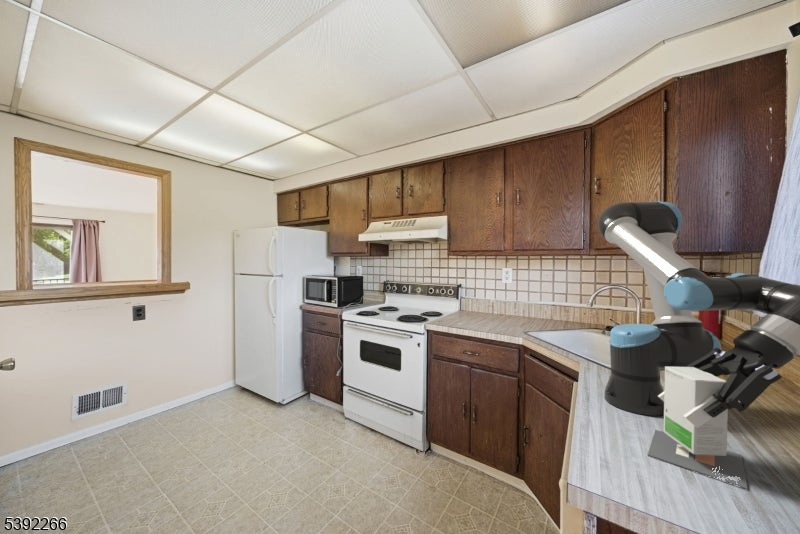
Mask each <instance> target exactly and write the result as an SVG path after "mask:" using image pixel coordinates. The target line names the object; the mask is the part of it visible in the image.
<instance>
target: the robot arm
mask: <svg viewBox="0 0 800 534" xmlns="http://www.w3.org/2000/svg"><path fill="white" fill-rule="evenodd" d="M682 223H683V215H682V212H681V211H680V209H679V208H678V206H676V205H675V204H674V203H671V202H669V201H657V200H654V201H643V202H641V201H639V202H636V201H635V202H626V201H625V202H618V203H615V204H612V205H610V206H608V207H607V208H605V209H604V210H603V211H602V212H601V213H600V215H599V217H598V220H597V230H598V232H599V234H600V235H601V237H603V239H605V241H607V242H608V243H610V244H612V245H617V246H618V248H620V249H621V250H622V251H623V252H624V253H626V254H627V255H628V256H629V257H630V258H631V259H632V260H634V261H635V262H636V263H637V264H638V265H640V267H642V269H643V273H644V277H645V281H646V285H647V289H648V294H649V297H650V302H651V305H652V311H653V314H654V318H655V319H654V320H653V321H652V323H650V324H647V323H625V324H619V325H616V326H613V328H611V330H610V332H609V333H610V335H609V345H610V346H609V349H610V351H609V352H610V353H609V354H610V355H609V356H610V376H609V377H608V380H607V383H606V385H605V387H604V390H603V391H604V399H605V401H606V402H608V404H610V405H612V406H614V407H616V408H618V409H620V410H624V411H627V412H630V413H633V414H634V413H635V414H637V415H638V414H640V415H644V416H654V417H657V416H664V391H665V389H664V387H663V386H662V383H661V370H664V371H665V367H694V368H697V369H699V370H701V371H704V372H707V373H710V374H712V375H714V376H716V377H717V376H719V377H720V376H728V377H727V379H726V380H725V381H726V383H725V384H724V385H723V387H722V389H721V390H720V392H719V393H718V394H715V395H714V394H713V396H714V397H715V398H717V400H716V399H715V398H714V397H712V396H710V397H709V398H707V399H706V400H704V401H703V402H702V403H700V404H699V405H697V406H696V407H695V408H693V409H692V410H690V411H689V412H688V413H686V414H685V415H683V416H684V417H685V418H686V419H688V420H689V421H690V422H691V423H692V424H693V425H694V426H695V427H697V428H698V427H700V426H701V425H703V424H704V423H706V422H707V421H708V420H710V419H711V418H714V417H716V416H718V415H719V414H720V413H722V412H723V411H725V410H726V409H729V410H732V409H735V410H737V411H738V412H745V411H746V409H747V408H749V407H750V406H751V405H752V403H754V401H756V400H757V398H759V396H761V395H762V394H763V393H764V392H765V390H767V388H769V387H770V385H772V384H774V383H776V382H777V381H779V380H781V379H782V375H781V374H779V372H777V371H776V370H778V369H781V368H782V367H784V366H785V365H787V364H788V363H789V362H791V361H792V360H794V357H795V356H799V355H800V284H795V283H794V284H793V283H788V282H784V281H780V280H776V279H772V278H767V277H763V276H761V275H760V276H759V275H758V274H752V273H751V274H748V273H743V272H736V273H731V274H729V275H728V276H725V277H711V276H708V275H707V274H705V273H704V272H702V271H701V270H700V269H698V268H697V267H695V266H694V265H692V264H691V263H690V262H688V261H687V260H685V259H684V258H683V257H682V256H680V255H679V254H677V253H676V251H675V248H674V244H673V241H675V239H676V238H677V236H678V235H677V233H678V232H679V231H680V230H681V228H682ZM692 311H695V312H697V311H698V312H699V311H755V312H760V313H763V314H766V315H765V316H763V317H762V318H760V319H759V320H757V321H755V323H754V324H752V325H750V326H749V328H750V329H746V330H745V331H743V332H742V333H741V334H739V335H738V336H736V337H735V338H733V340H732V342H733V345H734V347H733V348H731V349H729V350H727V351H724V350H722V345H721V342H720V339H719V338H718V337H717V336H716V335H714V333H713V332H712V331H710V330H709V329H708V330H707V329H705V328H704V325H703V322H702V321H701V320H700V319H697V317H696V318H695V317H694V315H693V312H692Z"/></svg>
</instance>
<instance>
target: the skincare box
mask: <svg viewBox="0 0 800 534" xmlns="http://www.w3.org/2000/svg"><path fill="white" fill-rule="evenodd" d="M726 381H727V380H725V379H723V378H721V377H719V378H718V377H716V376H714V375H712V374H710V373H707V372H704V371H701V370H699V369H697V368H694V367H665V370H664V415H663V432H664V433H665V434H667V435H668V436H670V437H671V438H672V439H673V440H675V441H676V442H678V443H679V444H680V445H682V446H683V447H684V448H686V449H687V450H689V451H690V452H691V453H692V454H695V455H716V456H726V452H727V451H728V450H727V447H728V445H727V444H728V443H727V442H728V416H729V415H728V413H729V412H728V409H726V410H725V411H723V412H722V413H720V414H719V415H718V416H716V417H714V418H711V419H710V420H708V421H707V422H706V423H704V424H703V425H701V426H700V427H698V428H697V427H695V426H694V425H693V424H692V423H691V422H690V421H689V420H688V419H686V418H685V417H684V416H683V415H685V414H686V413H688V412H689V411H690V410H692V409H693V408H695V407H696V406H697V405H699V404H700V403H702V402H703V401H704V400H706V399H707V398H709V397H710V396H712V397H714V396H713V394H714V395H715V394H718V393H719V392H720V390H721V389H722V387H723V385H724V384H725V383H726ZM714 398H715V397H714ZM715 399H716V400H717V398H715Z"/></svg>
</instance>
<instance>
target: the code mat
mask: <svg viewBox="0 0 800 534" xmlns="http://www.w3.org/2000/svg"><path fill="white" fill-rule="evenodd" d="M647 457H650V458H652V459H656V460H659V461H661V462H665V463H668V464H671V465H673V466H676V467H679V468H682V469H684V468H686V469H685V470H687V469H690V470H693V471H695V472H694V473H696V472H698V473H697V474H699V473H701V474H700V475H702V474H704V475H703V476H705V475H707V476H706V477H708V476H711V477H715V478H717V477H719V476H720V478H722V477H723V476H724V478H726V477H728V476H730V477H732V476H733V477H735V476H737V477H740V479H741V480H739V479H738V480H739V481H737V483H738V484H736V481H734V480H730V479H729V478H727V479H728V480H727V479H725V481H726V482H728V483H732V484H735V485H738V486H740V487H742V488H744V489H743V490H745V489H747V490H746V491H748V490H749V489H748V486H747V485H748V483H747V478H746V473H745V467H744V462H743V457H742V454H741V453H736V452H734V451H729V450H727V452H726V456H716V455H695V454H692V453H691V452H690V451H689V450H687V449H686V448H684V447H683V446H682V445H680V444H679V443H678V442H676V441H675V440H673V439H672V438H671V437H670V436H668V435H667V434H665V433H664V431H662V430H658V429H655V431H654V434H653V436H652V439H651V442H650V446H649V450H648V452H647ZM719 466H720V470H719ZM716 467H717V469H716V472H713V471H714V470H715V468H716ZM712 468H714V469H713V470H712ZM722 469H723V470H722ZM690 470H689V471H690ZM718 470H719V472H718V473H717V471H718ZM693 471H692V472H693ZM712 472H713V473H712ZM715 473H716V475H715ZM719 473H720V474H719ZM718 474H719V475H718ZM722 474H723V475H722ZM711 477H710V478H711ZM718 479H719V478H718ZM721 480H722V479H721ZM728 483H727V484H728ZM740 487H739V488H740ZM742 488H741V489H742Z"/></svg>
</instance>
